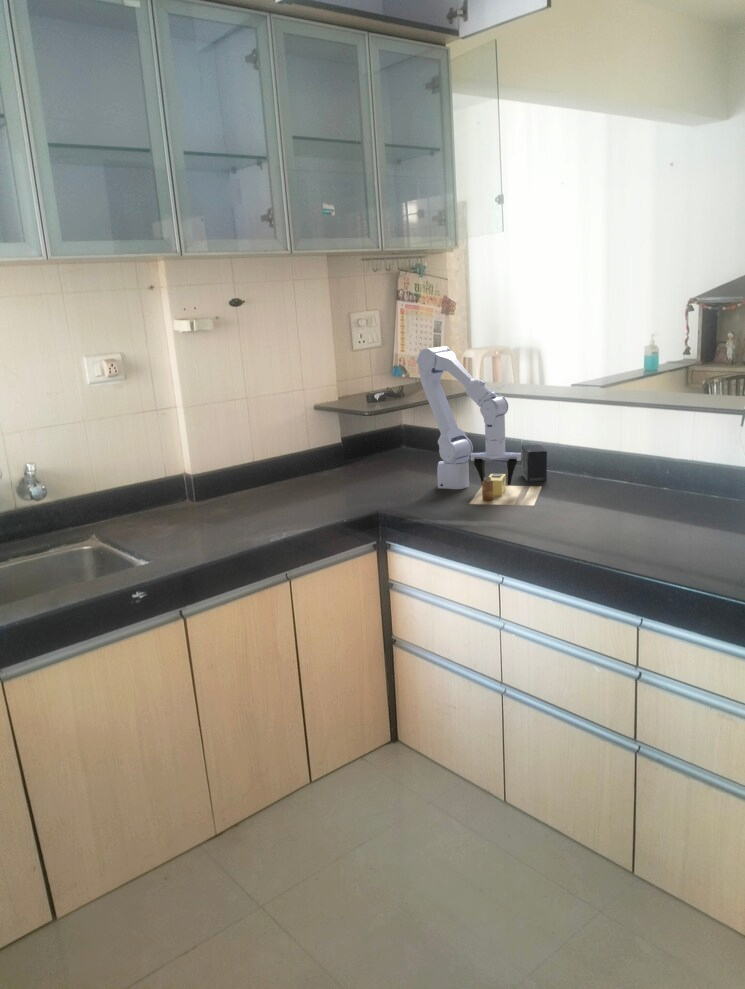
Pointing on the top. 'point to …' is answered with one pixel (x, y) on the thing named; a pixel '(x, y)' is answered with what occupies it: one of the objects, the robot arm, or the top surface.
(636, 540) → the top surface
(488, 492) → the brown jar
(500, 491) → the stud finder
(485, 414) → the robot arm
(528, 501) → the plywood panel
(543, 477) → the small box
